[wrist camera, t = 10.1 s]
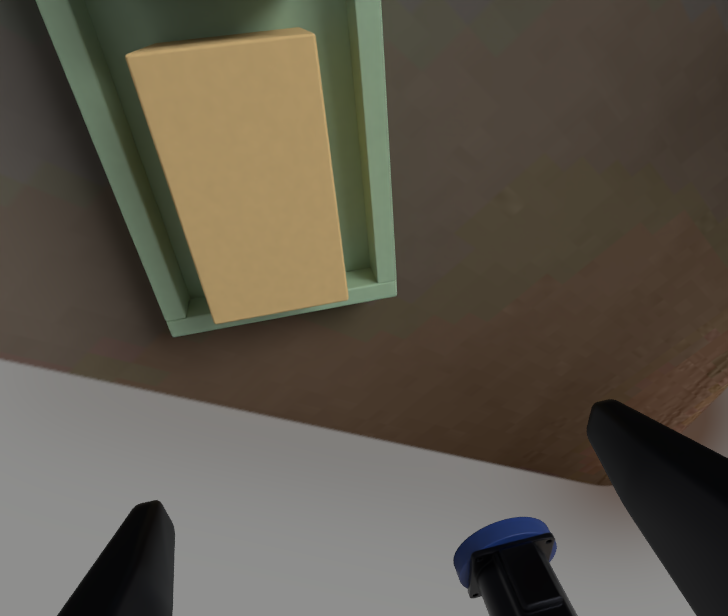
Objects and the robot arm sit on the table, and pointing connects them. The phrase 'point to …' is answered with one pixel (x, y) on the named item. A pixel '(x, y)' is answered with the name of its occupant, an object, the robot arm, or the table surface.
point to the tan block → (247, 167)
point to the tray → (140, 159)
